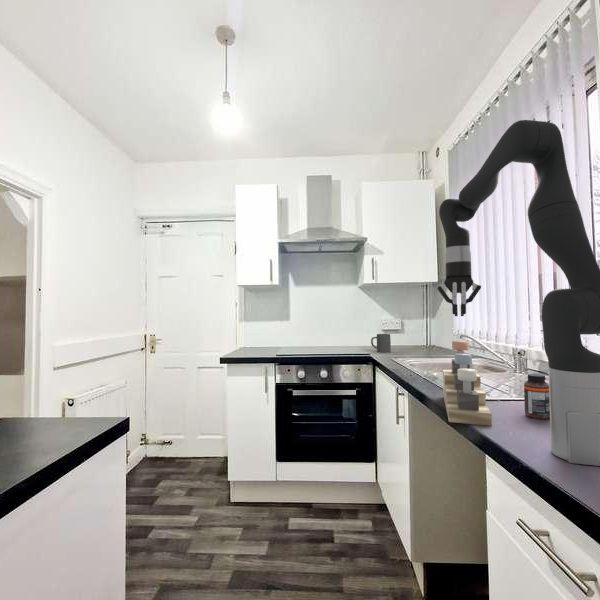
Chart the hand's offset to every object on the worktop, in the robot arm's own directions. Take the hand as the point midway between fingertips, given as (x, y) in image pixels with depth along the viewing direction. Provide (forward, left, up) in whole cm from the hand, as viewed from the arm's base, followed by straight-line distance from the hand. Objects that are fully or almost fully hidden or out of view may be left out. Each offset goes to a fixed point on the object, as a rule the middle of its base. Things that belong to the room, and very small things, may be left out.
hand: (459, 316), depth 115 cm
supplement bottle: (-11, -18, -27) cm, 34 cm away
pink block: (0, 0, -15) cm, 15 cm away
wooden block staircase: (-9, 0, -27) cm, 28 cm away
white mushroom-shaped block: (-19, 0, -21) cm, 28 cm away
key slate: (-10, 0, -18) cm, 20 cm away
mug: (+126, +39, -27) cm, 135 cm away
